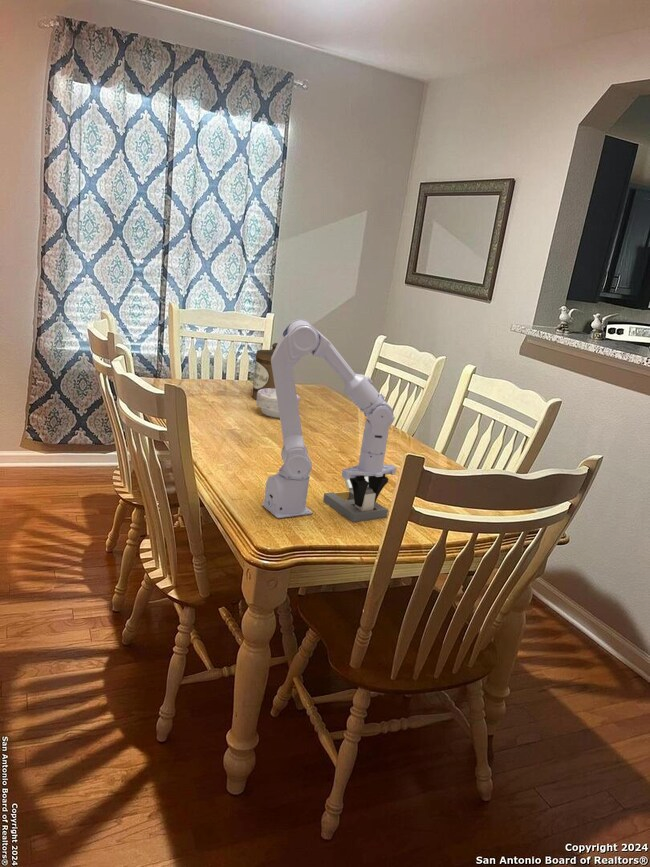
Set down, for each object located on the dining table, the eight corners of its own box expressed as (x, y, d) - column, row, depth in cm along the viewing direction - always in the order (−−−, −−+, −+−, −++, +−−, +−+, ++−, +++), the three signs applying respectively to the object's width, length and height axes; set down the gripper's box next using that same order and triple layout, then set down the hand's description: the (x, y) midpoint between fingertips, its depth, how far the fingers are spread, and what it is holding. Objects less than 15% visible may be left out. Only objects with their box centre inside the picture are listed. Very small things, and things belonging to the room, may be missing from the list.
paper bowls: (296, 423, 228) (298, 401, 226) (252, 417, 228) (254, 395, 226) (298, 412, 243) (301, 391, 240) (257, 406, 242) (260, 386, 240)
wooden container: (248, 393, 261) (254, 338, 255) (284, 395, 266) (290, 341, 260) (256, 403, 248) (262, 345, 242) (293, 405, 252) (300, 348, 246)
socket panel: (353, 522, 152) (354, 514, 152) (323, 500, 162) (324, 493, 162) (386, 517, 158) (387, 509, 157) (355, 496, 168) (356, 489, 167)
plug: (361, 518, 155) (365, 491, 153) (353, 512, 158) (357, 486, 156) (371, 516, 157) (376, 490, 155) (364, 511, 160) (368, 485, 158)
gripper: (357, 458, 146) (349, 514, 149) (407, 454, 154) (398, 507, 157) (340, 448, 151) (332, 502, 155) (389, 444, 159) (380, 496, 163)
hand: (364, 504), depth 157 cm, fingers closed on plug, 3 cm apart
